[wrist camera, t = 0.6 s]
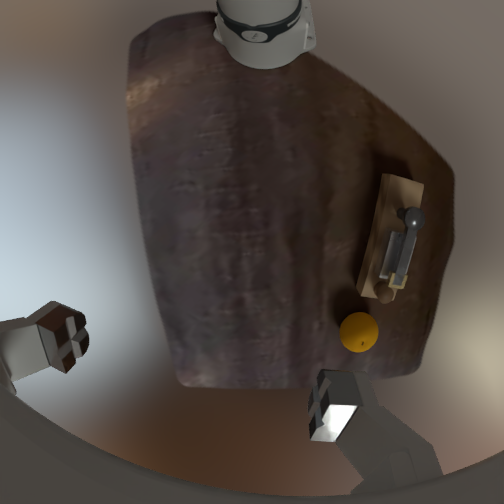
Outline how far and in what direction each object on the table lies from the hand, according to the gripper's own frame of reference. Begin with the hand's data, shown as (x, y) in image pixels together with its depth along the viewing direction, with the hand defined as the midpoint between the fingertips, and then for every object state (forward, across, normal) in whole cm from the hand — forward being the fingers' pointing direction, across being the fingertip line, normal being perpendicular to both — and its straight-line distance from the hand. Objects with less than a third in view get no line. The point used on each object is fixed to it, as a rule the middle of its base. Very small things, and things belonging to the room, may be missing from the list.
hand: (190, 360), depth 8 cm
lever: (+33, -24, +1) cm, 40 cm away
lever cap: (+37, -24, +3) cm, 44 cm away
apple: (+41, -23, +20) cm, 51 cm away
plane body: (+41, -24, +1) cm, 47 cm away
